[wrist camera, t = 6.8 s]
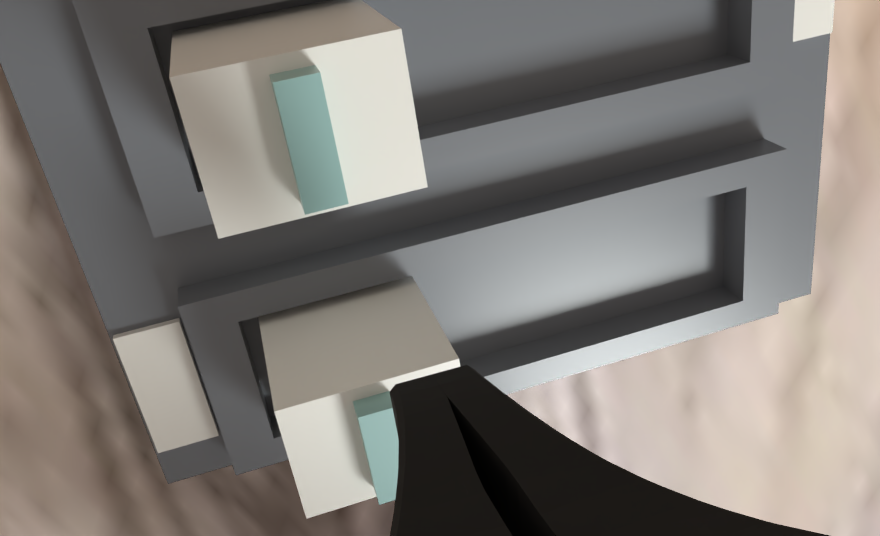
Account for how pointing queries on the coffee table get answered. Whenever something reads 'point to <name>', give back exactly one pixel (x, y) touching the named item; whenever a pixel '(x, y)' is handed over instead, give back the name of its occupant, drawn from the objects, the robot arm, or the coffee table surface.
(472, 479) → the robot arm
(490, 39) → the switch bank
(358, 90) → the tab
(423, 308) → the tab
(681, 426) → the coffee table surface
